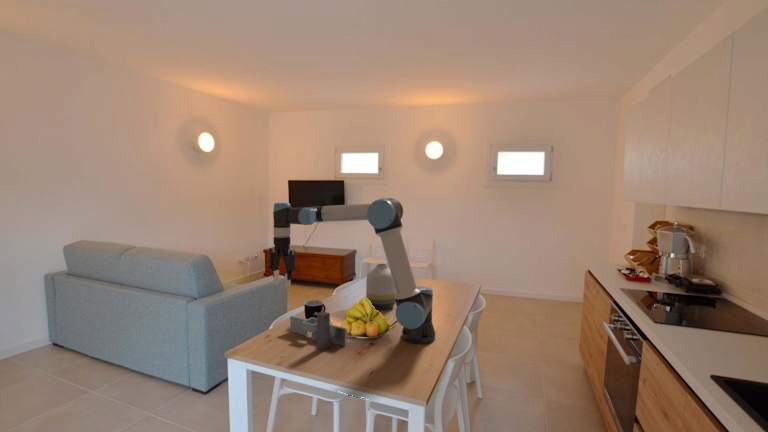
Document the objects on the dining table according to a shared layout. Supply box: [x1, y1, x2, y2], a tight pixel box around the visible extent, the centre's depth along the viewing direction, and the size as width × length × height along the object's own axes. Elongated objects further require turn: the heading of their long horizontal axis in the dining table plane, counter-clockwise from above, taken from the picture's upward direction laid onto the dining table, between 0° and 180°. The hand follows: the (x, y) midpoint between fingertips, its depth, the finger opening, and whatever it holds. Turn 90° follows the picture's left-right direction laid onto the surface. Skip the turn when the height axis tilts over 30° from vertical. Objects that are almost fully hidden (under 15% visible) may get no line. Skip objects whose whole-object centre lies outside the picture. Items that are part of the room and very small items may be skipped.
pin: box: [316, 311, 331, 352], centre depth 148 cm, size 4×4×15 cm
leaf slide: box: [289, 315, 317, 336], centre depth 162 cm, size 16×7×7 cm, turn 63°
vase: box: [365, 263, 396, 310], centre depth 202 cm, size 17×17×24 cm
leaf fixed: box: [311, 324, 348, 347], centre depth 155 cm, size 16×6×7 cm, turn 63°
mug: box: [303, 299, 326, 319], centre depth 177 cm, size 12×9×10 cm
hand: (282, 285), depth 166 cm, fingers open, 6 cm apart
